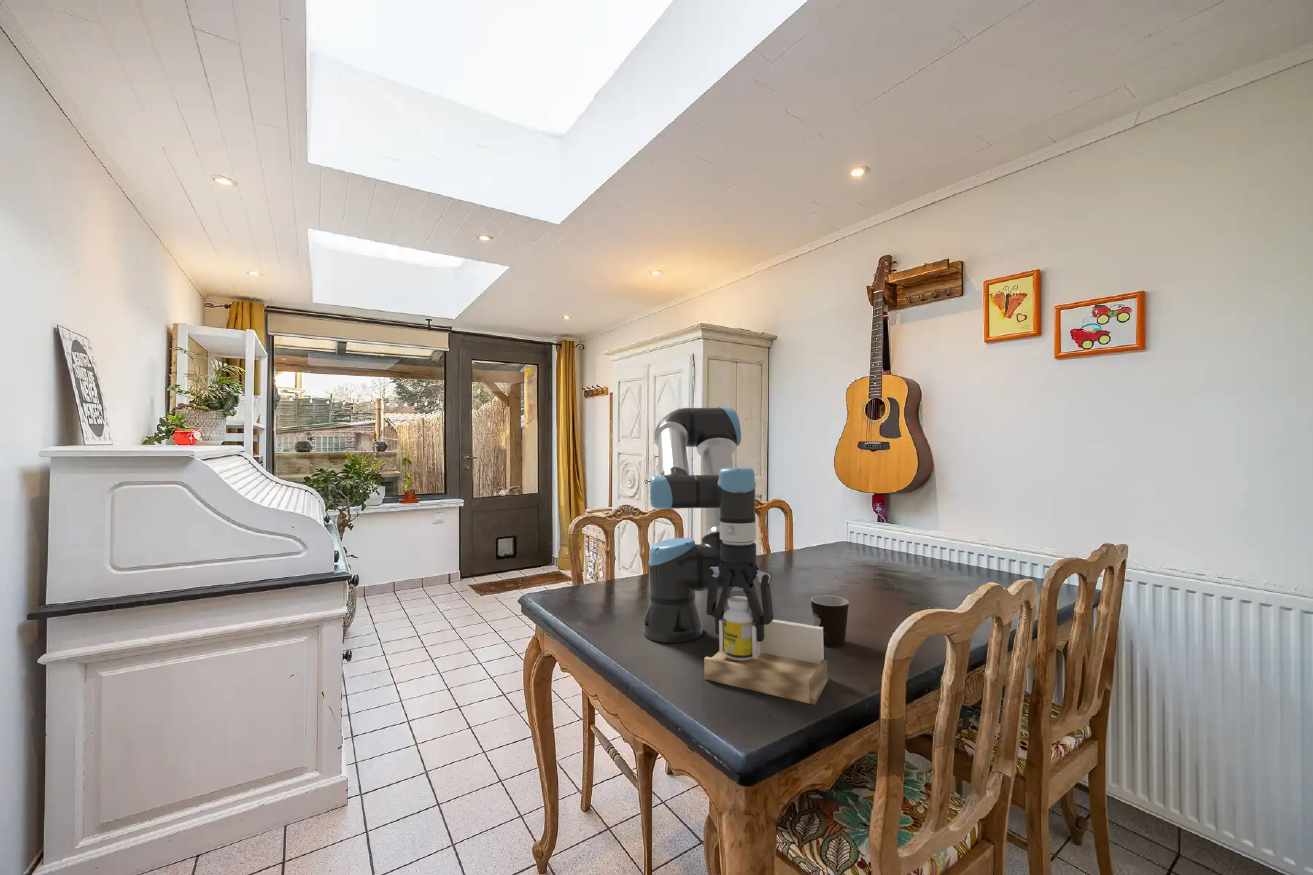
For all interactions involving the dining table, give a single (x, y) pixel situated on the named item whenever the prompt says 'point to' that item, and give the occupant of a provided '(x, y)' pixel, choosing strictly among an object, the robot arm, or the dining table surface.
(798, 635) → the wall board
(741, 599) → the pill bottle
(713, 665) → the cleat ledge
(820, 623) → the coffee mug
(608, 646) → the dining table surface
